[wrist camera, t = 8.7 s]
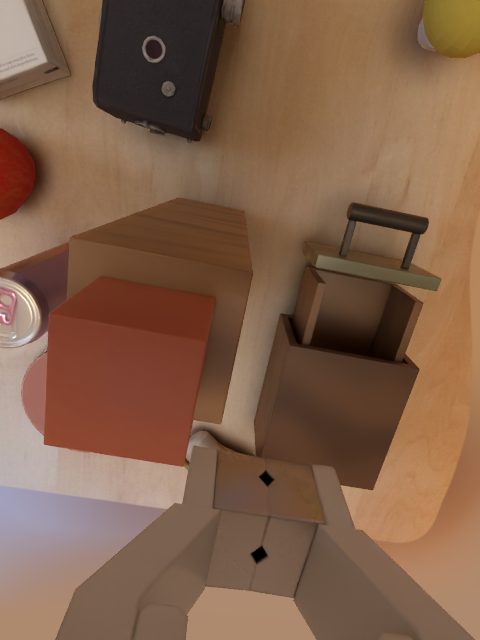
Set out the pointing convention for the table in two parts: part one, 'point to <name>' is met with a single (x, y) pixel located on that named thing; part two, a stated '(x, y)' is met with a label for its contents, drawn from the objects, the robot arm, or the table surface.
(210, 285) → the stand
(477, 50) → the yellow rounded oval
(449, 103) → the table surface
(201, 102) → the camera
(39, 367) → the plate
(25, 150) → the apple
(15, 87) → the small box
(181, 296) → the block
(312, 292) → the drawer
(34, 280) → the beverage can
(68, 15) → the table surface
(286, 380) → the cabinet
